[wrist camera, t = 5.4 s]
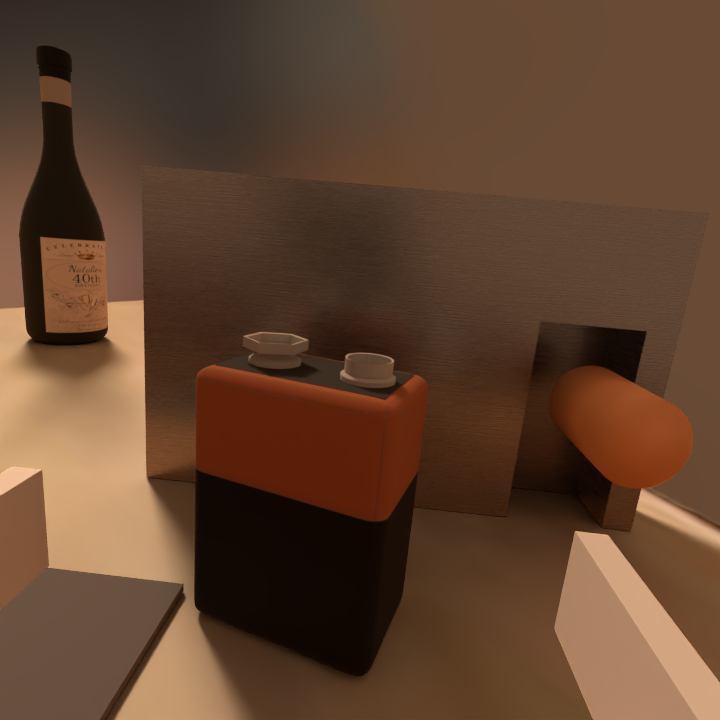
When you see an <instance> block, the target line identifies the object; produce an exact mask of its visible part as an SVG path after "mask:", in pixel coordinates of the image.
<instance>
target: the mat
mask: <svg viewBox="0 0 720 720" xmlns="http://www.w3.org/2000/svg"><path fill="white" fill-rule="evenodd" d="M182 592H183V584H178V583H169V582H161V581H153V580H144V579H136V578H128V577H119V576H111V575H103V574H94V573H86V572H78V571H70V570H61V569H53V568H46V569H45V570H44V571H42V572H41V573H40V574H39V575H38V576H37V577H36V578H35V579H34V580H33V581H32V582H30V583H29V584H28V585H27V586H26V587H25V588H24V589H23V590H22V591H21V592H20V593H18V594H17V595H16V596H15V597H14V598H13V599H12V600H11V601H10V602H9V603H8V604H6V605H5V606H4V607H3V608H2V609H1V610H0V720H105V719H106V718H107V716H108V714H109V713H110V711H111V709H112V708H113V706H114V704H115V703H116V701H117V699H118V698H119V696H120V695H121V693H122V691H123V690H124V688H125V686H126V685H127V683H128V681H129V680H130V678H131V676H132V675H133V673H134V671H135V670H136V668H137V667H138V665H139V663H140V662H141V660H142V658H143V657H144V655H145V653H146V652H147V650H148V648H149V647H150V645H151V643H152V642H153V640H154V639H155V637H156V635H157V634H158V632H159V630H160V629H161V627H162V625H163V624H164V622H165V620H166V619H167V617H168V615H169V614H170V612H171V611H172V609H173V607H174V606H175V604H176V602H177V601H178V599H179V597H180V596H181V594H182Z"/></svg>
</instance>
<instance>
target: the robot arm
mask: <svg viewBox="0 0 720 720" xmlns="http://www.w3.org/2000/svg"><path fill="white" fill-rule="evenodd" d="M48 566H49V560H48V547H47V533H46V519H45V505H44V491H43V477H42V470H41V469H33V468H24V467H15V466H12V467H10V468H8V469H7V470H5V471H3V472H1V473H0V610H1V609H2V608H3V607H4V606H5V605H6V604H8V603H9V602H10V601H11V600H12V599H13V598H14V597H15V596H16V595H17V594H18V593H20V592H21V591H22V590H23V589H24V588H25V587H26V586H27V585H28V584H29V583H30V582H32V581H33V580H34V579H35V578H36V577H37V576H38V575H39V574H40V573H41V572H42V571H44V570H45V569H46V568H47V567H48ZM554 630H555V632H556V635H557V637H558V639H559V642H560V644H561V646H562V649H563V651H564V653H565V656H566V658H567V660H568V663H569V665H570V667H571V670H572V672H573V674H574V677H575V679H576V681H577V684H578V686H579V688H580V691H581V693H582V695H583V698H584V700H585V702H586V705H587V707H588V709H589V712H590V714H591V717H592V719H593V720H720V682H719V681H718V679H717V678H716V677H715V676H714V674H713V673H712V672H711V670H710V669H709V668H708V666H707V665H706V664H705V662H704V661H703V660H702V658H701V657H700V656H699V654H698V653H697V652H696V650H695V649H694V648H693V646H692V645H691V644H690V643H689V641H688V640H687V639H686V637H685V636H684V635H683V633H682V632H681V631H680V629H679V628H678V627H677V625H676V624H675V623H674V621H673V620H672V619H671V617H670V616H669V615H668V613H667V612H666V611H665V610H664V608H663V607H662V606H661V604H660V603H659V602H658V600H657V599H656V598H655V596H654V595H653V594H652V592H651V591H650V590H649V588H648V587H647V586H646V584H645V583H644V582H643V581H642V579H641V578H640V577H639V575H638V574H637V573H636V571H635V570H634V569H633V567H632V566H631V565H630V563H629V562H628V561H627V559H626V558H625V557H624V555H623V554H622V553H621V551H620V550H619V549H618V548H617V546H616V545H615V544H614V542H613V541H612V540H611V538H610V537H609V536H608V535H605V534H597V533H588V532H579V531H575V533H574V538H573V543H572V547H571V552H570V557H569V561H568V566H567V570H566V575H565V580H564V584H563V589H562V594H561V598H560V603H559V608H558V612H557V617H556V621H555V626H554Z"/></svg>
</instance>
